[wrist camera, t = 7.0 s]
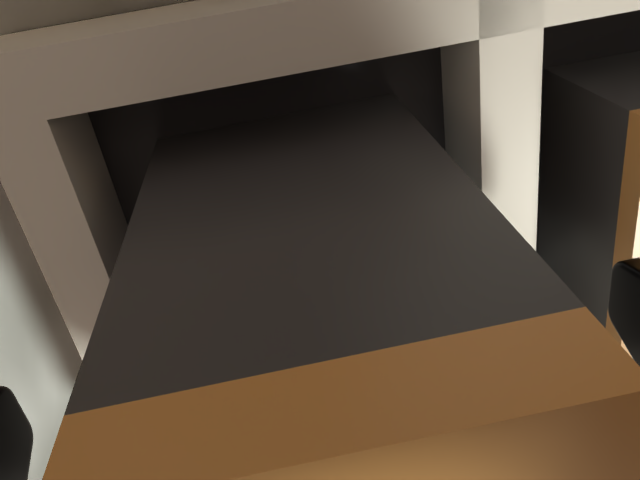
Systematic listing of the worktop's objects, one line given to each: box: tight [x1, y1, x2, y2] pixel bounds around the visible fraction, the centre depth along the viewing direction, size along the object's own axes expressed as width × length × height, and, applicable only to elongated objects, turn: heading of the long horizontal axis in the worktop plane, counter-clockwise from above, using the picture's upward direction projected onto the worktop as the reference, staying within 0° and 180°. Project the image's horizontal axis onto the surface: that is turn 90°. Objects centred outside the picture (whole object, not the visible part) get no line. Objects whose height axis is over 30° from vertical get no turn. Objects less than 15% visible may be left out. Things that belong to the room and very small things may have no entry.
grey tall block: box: [42, 94, 640, 480], centre depth 9 cm, size 4×4×8 cm
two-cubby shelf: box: [0, 0, 640, 361], centre depth 12 cm, size 16×9×2 cm, turn 99°
